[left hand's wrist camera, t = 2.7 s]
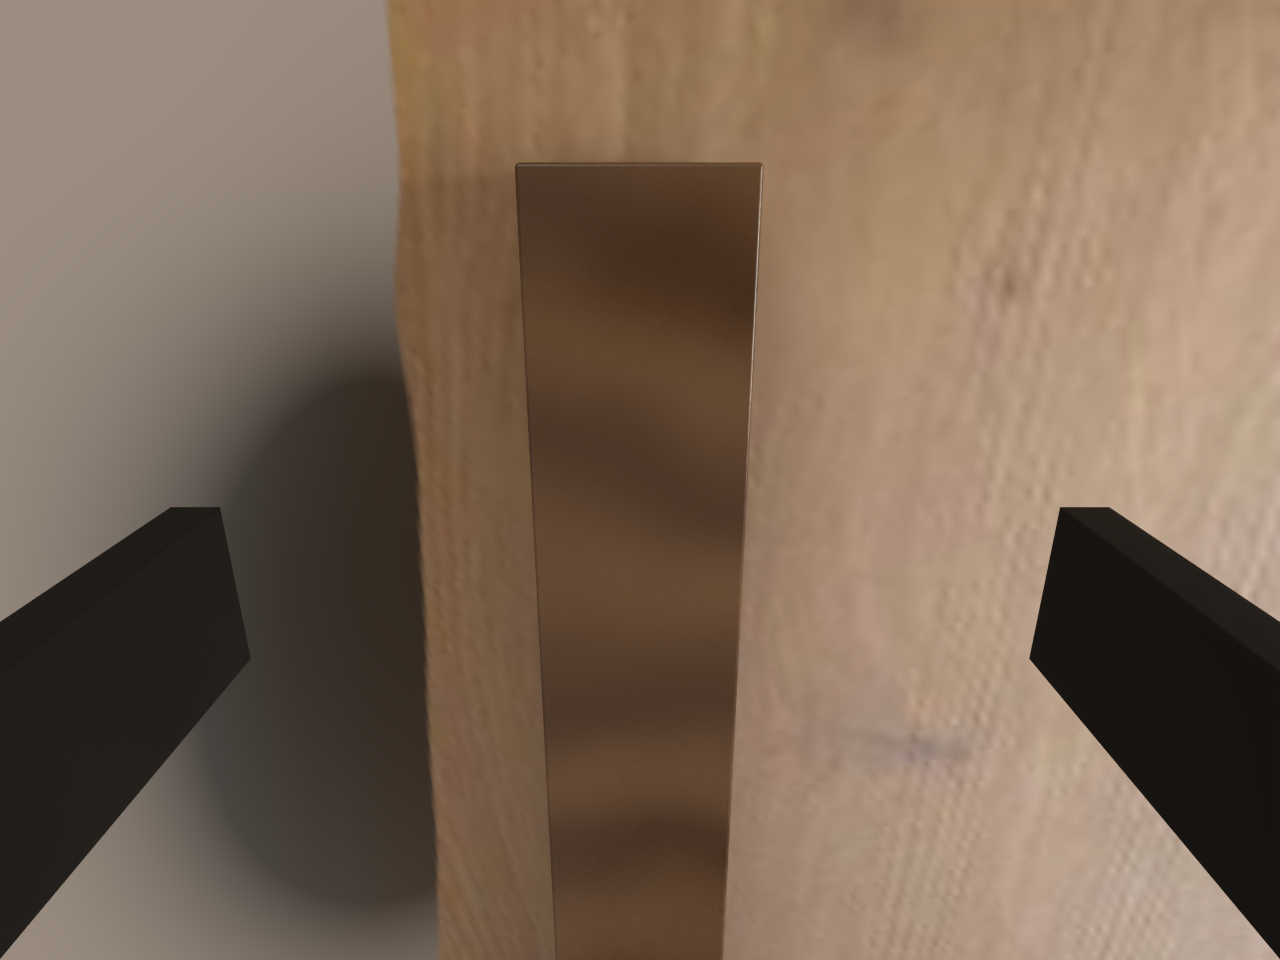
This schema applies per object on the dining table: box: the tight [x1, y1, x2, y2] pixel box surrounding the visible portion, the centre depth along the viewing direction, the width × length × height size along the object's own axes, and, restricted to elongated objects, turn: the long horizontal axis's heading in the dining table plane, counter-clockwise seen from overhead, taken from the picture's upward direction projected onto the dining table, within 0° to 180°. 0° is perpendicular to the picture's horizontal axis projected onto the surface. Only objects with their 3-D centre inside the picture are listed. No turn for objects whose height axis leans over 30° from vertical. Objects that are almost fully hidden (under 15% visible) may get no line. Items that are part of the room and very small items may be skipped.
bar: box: [515, 163, 764, 960], centre depth 31 cm, size 54×6×7 cm, turn 0°
